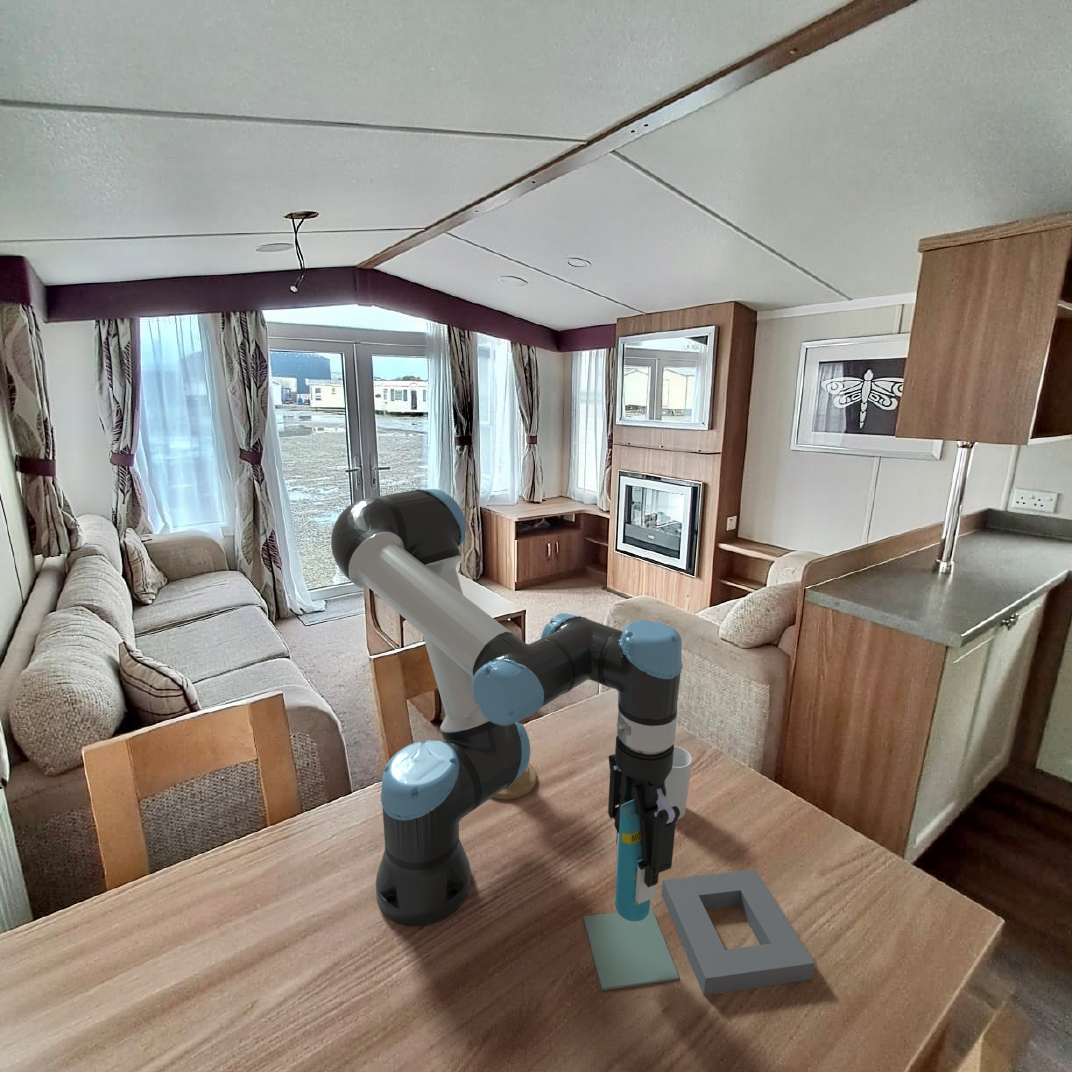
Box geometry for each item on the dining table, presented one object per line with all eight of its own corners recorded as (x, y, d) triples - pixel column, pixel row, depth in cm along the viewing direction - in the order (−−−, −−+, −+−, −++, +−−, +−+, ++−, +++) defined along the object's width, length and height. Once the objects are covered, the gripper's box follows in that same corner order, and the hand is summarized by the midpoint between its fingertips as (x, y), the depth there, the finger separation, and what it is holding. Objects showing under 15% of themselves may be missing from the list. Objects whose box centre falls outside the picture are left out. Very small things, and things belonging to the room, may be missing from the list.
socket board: (703, 995, 78) (705, 978, 77) (661, 894, 93) (662, 879, 93) (811, 979, 81) (815, 962, 80) (753, 884, 96) (755, 869, 95)
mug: (693, 817, 110) (699, 763, 107) (663, 826, 108) (668, 770, 105) (664, 784, 119) (669, 733, 116) (636, 791, 117) (640, 739, 114)
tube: (628, 934, 79) (637, 815, 74) (602, 910, 82) (608, 795, 77) (662, 903, 83) (672, 789, 78) (636, 882, 87) (644, 771, 82)
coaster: (602, 990, 79) (602, 988, 78) (583, 918, 89) (583, 916, 89) (678, 979, 80) (679, 977, 80) (651, 910, 91) (652, 908, 91)
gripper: (587, 710, 82) (581, 846, 88) (661, 788, 66) (647, 947, 72) (632, 699, 85) (623, 832, 91) (713, 771, 69) (696, 926, 75)
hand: (634, 883), depth 82 cm, fingers closed on tube, 5 cm apart
